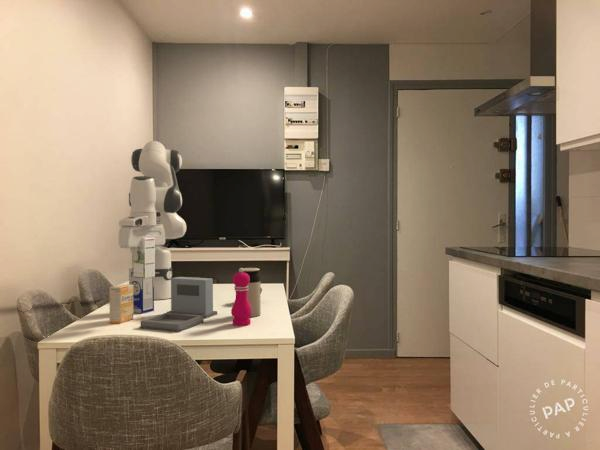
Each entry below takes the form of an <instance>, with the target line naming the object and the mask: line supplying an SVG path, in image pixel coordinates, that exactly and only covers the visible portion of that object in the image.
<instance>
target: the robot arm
mask: <svg viewBox="0 0 600 450" xmlns="http://www.w3.org/2000/svg"><path fill="white" fill-rule="evenodd" d="M130 164H131V166H132V168H133V170H134V171H135V172H139V173H141V175H140V176H139V175H138V176H133V177H132V178H131V181H130V190H129V193H128V206H130V211H129V216H126V217H125V218H122V219H120V220H119V221H118V225H119V227H120V228H119V230H118V245H119V247H120V248H121V249H129V250H130V253H131V255H133V260H140V255H138V253H137V251H138V247H142V238H145V237H154V238H155V277H154V301H155V300H157V301H158V300H167V299H171V278H173V268H172V253H171V251H170V249H168V248H167V247H165V244H166V240H176V239H180V238H182V237H184V236H185V234H186V232H187V223H186V221H185V220H184V219H183V218H182V217H181V216H180V215H178V213H177V212H178V211H179V210H180V209H181V208H182V205H183V197H182V193H181V191H180V188H179V185H178V180H177V176H176V175H177V174H176V173H178V172H179V171H180V170H181V168H182V165H183V158H182V155H181V153H180V152H179V151H178V150H177V149H176V150H175V149H167V148H166V147H165V146H164V144H162V143H161V142H160V141H156V140H150V141H149V142H146V143H145V145H144V146H143V148H137V149H135V150H133V151H132V154H131V156H130ZM157 213H160V216H157Z"/></svg>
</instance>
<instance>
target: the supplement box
mask: <svg viewBox="0 0 600 450" xmlns="http://www.w3.org/2000/svg"><path fill="white" fill-rule="evenodd" d="M108 291H109V324H123V323H125V322H127V321H130V320H134V313H133V285H129V283H128V284H126V283H125V284H119V285H115V286H110V287H109V290H108Z"/></svg>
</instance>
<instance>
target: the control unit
mask: <svg viewBox="0 0 600 450" xmlns="http://www.w3.org/2000/svg"><path fill="white" fill-rule="evenodd" d="M166 313H177V314H188V315H200V316H203V319H204V320H205V319H209V318H211V317H214V316H216V315H218V311H217V310H214V279H213V278H207V277H192V276H191V277H189V276H187V277H186V276H177V277H172V278H171V298H170V310H169V311H168V310H167V311H166Z"/></svg>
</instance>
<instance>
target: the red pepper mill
mask: <svg viewBox="0 0 600 450" xmlns="http://www.w3.org/2000/svg"><path fill="white" fill-rule="evenodd" d="M243 271H244V269H243V267H240V268H239V269H238V272H236V273H235V274H234V275H233V277H232V282H233V284H234V286H233V288H234V289H233V290H234V291H235V300H234V302H233V304H232V306H231V312H230V313H231V316H232V317H233V318H232V325H233V326H235V327H246V326H249V325H250V324H251V317H249V316H250V315H251V313H252V309H251V306H250V304H249V301H248V298H247V290H248V286H247V285H248V283H249V282H250V277H249V275H248V274H247V273H244V272H243Z"/></svg>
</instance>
